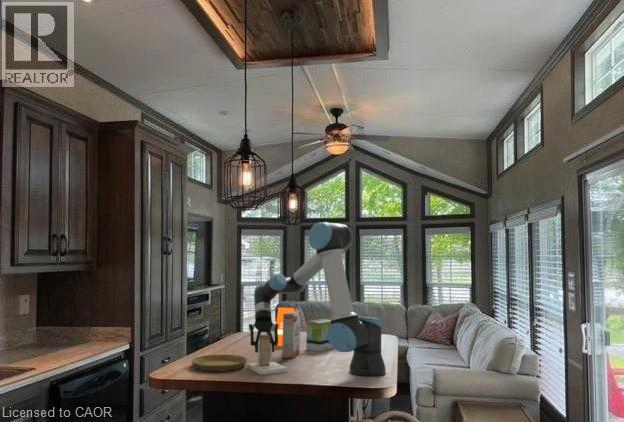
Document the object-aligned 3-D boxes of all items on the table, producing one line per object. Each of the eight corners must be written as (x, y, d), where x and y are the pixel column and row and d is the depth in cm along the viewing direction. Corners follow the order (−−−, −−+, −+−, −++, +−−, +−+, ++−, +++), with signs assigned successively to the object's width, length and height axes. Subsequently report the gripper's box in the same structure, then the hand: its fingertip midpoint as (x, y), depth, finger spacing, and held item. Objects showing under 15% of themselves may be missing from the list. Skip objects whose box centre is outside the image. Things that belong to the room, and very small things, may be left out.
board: (287, 371, 206) (287, 367, 206) (260, 374, 200) (261, 370, 200) (272, 365, 218) (272, 361, 218) (247, 367, 212) (247, 363, 212)
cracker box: (293, 358, 232) (294, 314, 234) (281, 358, 233) (282, 313, 235) (300, 353, 246) (300, 311, 248) (288, 352, 247) (289, 310, 249)
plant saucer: (211, 359, 230) (212, 352, 230) (257, 364, 221) (257, 356, 221) (179, 370, 208) (179, 362, 208) (228, 376, 199) (228, 367, 199)
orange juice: (291, 346, 265) (292, 308, 266) (275, 345, 266) (276, 308, 268) (294, 343, 272) (295, 307, 274) (279, 343, 274) (279, 306, 275)
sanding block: (259, 362, 214) (259, 335, 216) (268, 362, 215) (268, 334, 216) (260, 366, 209) (260, 337, 210) (269, 365, 209) (270, 337, 210)
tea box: (321, 352, 250) (321, 322, 251) (305, 349, 256) (306, 320, 257) (337, 347, 262) (338, 319, 263) (322, 345, 268) (322, 318, 269)
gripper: (281, 319, 230) (284, 362, 212) (243, 319, 227) (244, 363, 209) (282, 309, 225) (286, 352, 208) (244, 309, 222) (244, 353, 205)
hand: (265, 358), depth 208 cm, fingers open, 4 cm apart
